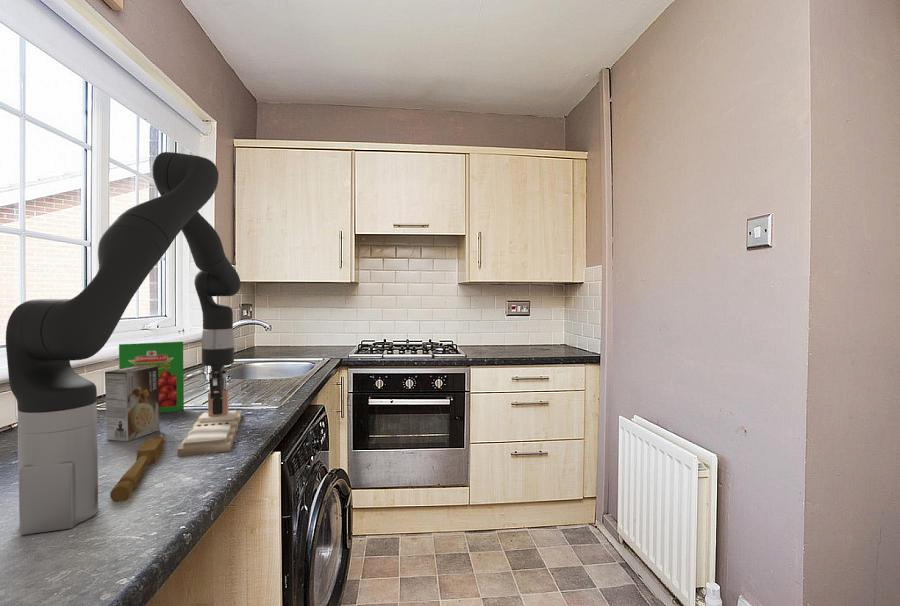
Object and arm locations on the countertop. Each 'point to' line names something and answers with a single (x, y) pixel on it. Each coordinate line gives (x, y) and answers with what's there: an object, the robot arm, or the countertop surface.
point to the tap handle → (138, 468)
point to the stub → (218, 417)
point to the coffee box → (132, 402)
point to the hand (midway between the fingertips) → (218, 411)
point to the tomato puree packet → (159, 369)
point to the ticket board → (210, 436)
